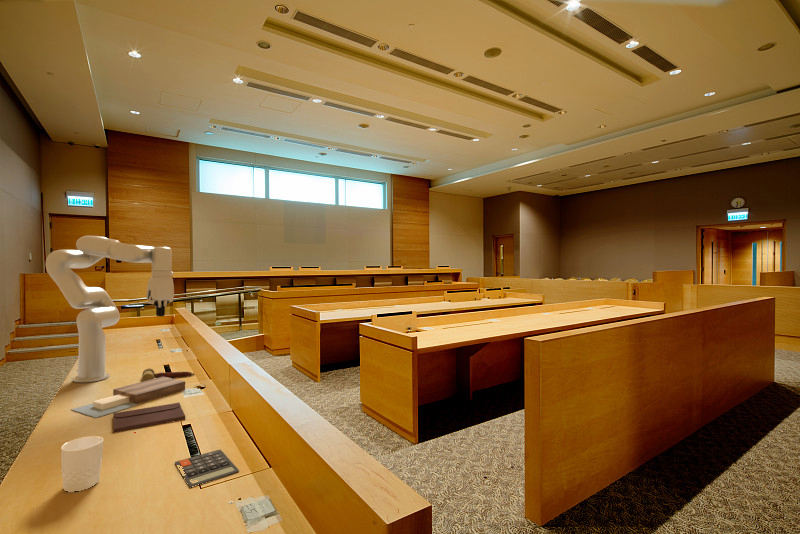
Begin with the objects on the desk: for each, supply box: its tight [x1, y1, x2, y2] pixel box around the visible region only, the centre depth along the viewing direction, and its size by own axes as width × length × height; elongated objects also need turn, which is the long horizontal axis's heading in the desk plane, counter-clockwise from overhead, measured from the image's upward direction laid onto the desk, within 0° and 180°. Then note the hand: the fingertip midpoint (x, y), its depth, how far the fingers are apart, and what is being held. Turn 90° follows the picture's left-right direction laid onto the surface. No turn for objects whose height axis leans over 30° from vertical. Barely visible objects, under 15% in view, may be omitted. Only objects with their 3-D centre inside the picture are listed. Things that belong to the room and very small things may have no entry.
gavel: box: [140, 367, 195, 382], centre depth 179 cm, size 21×5×10 cm
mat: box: [71, 402, 139, 419], centre depth 142 cm, size 15×14×1 cm
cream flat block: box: [92, 394, 129, 410], centre depth 144 cm, size 6×9×2 cm, turn 156°
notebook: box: [112, 402, 186, 434], centre depth 133 cm, size 15×20×2 cm
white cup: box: [60, 435, 104, 493], centre depth 93 cm, size 8×8×10 cm
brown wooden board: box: [112, 377, 186, 405], centre depth 158 cm, size 14×20×4 cm
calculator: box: [174, 449, 240, 488], centre depth 103 cm, size 12×1×15 cm
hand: (160, 315), depth 174 cm, fingers closed
